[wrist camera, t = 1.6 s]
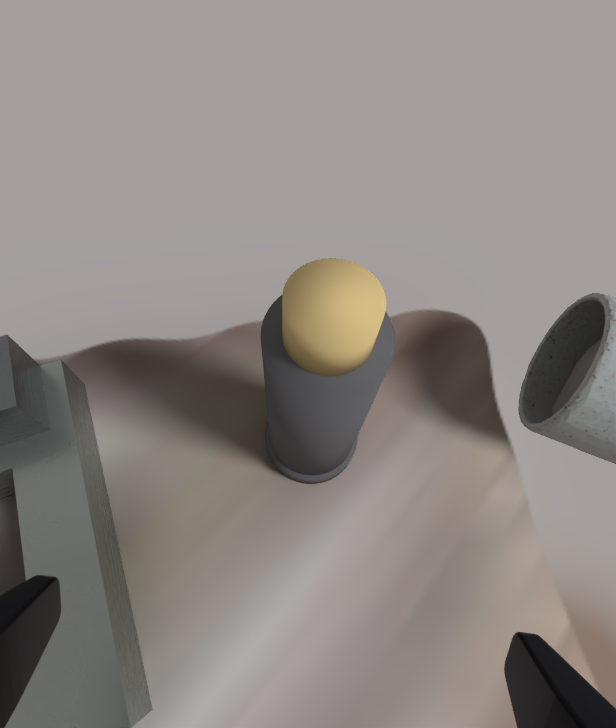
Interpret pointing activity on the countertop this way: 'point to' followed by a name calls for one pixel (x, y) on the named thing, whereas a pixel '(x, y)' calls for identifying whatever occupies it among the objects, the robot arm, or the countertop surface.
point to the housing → (68, 550)
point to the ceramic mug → (576, 379)
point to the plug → (323, 366)
